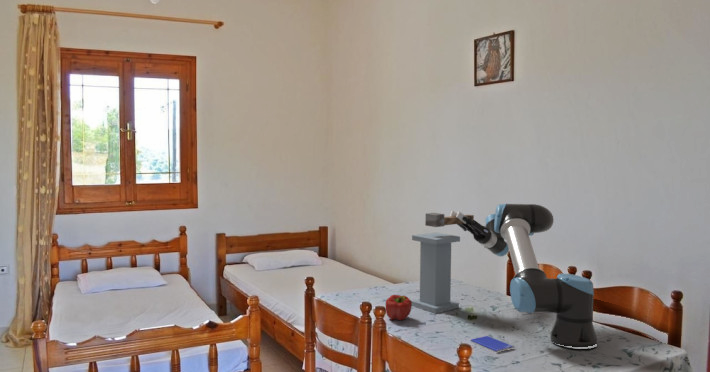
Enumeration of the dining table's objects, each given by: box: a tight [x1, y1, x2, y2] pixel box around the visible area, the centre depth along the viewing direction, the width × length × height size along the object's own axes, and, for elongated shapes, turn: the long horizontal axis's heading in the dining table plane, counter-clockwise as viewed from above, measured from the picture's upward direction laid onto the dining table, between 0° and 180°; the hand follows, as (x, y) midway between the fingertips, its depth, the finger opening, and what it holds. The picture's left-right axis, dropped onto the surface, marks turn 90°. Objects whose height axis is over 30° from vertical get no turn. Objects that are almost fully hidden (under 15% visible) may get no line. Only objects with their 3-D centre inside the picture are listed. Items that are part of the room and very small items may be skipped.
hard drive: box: [470, 335, 515, 354], centre depth 195 cm, size 2×8×12 cm
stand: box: [411, 232, 461, 314], centre depth 240 cm, size 14×14×30 cm
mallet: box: [424, 212, 475, 228], centre depth 245 cm, size 25×6×5 cm, turn 128°
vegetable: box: [385, 294, 413, 321], centre depth 223 cm, size 11×10×10 cm
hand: (454, 213), depth 246 cm, fingers closed on mallet, 3 cm apart
